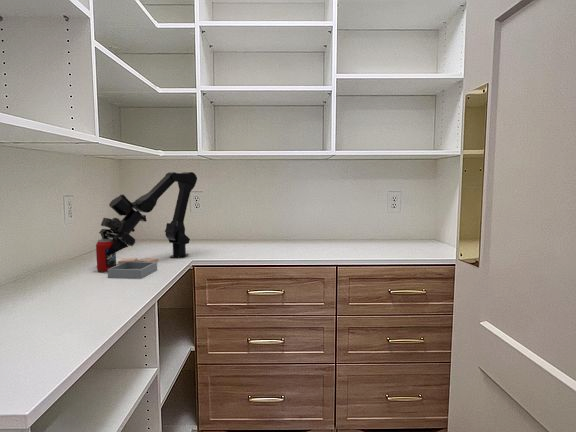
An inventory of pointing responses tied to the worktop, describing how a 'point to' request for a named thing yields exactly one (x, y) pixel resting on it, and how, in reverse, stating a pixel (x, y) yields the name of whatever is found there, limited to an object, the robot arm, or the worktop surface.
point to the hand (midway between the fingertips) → (102, 254)
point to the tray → (132, 270)
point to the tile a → (127, 260)
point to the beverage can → (102, 259)
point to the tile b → (148, 260)
